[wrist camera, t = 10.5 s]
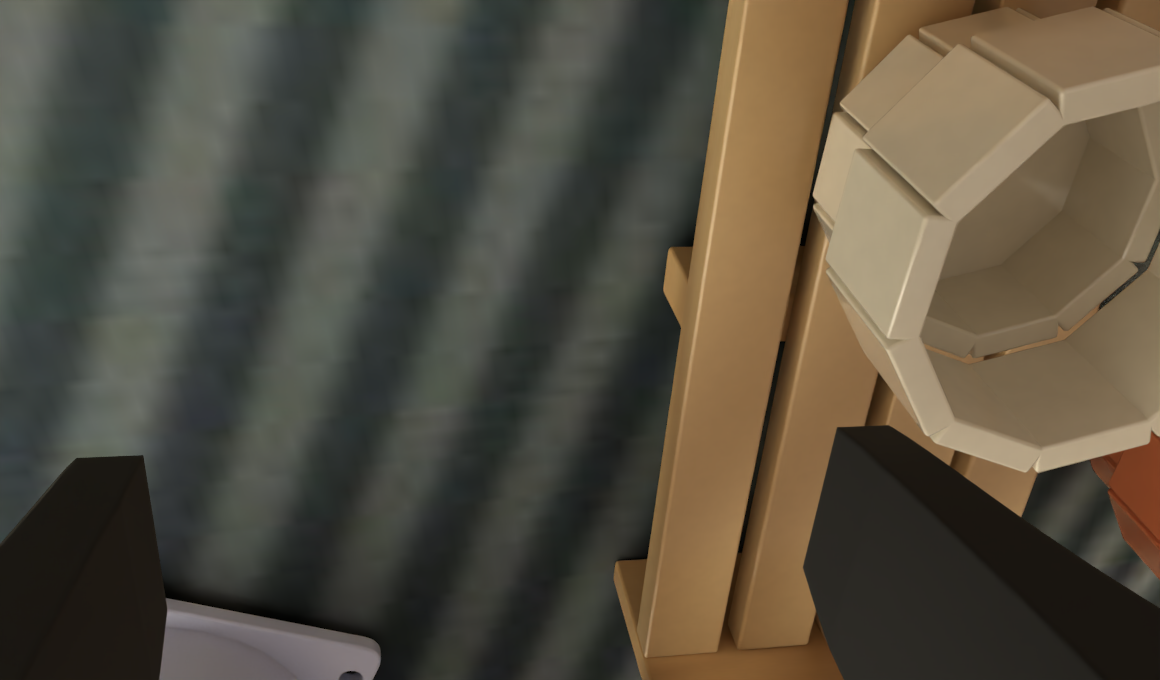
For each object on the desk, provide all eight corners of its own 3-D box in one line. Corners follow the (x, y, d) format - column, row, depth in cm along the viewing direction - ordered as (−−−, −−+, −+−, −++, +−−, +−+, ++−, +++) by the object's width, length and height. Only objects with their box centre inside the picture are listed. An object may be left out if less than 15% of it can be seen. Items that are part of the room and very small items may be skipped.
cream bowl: (985, 348, 20) (1133, 509, 16) (708, 244, 18) (805, 402, 14) (1192, 60, 17) (1422, 171, 14) (902, -98, 15) (1080, -19, 12)
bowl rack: (612, 579, 25) (676, 805, 20) (711, -208, 17) (861, -153, 12) (915, 558, 27) (1045, 766, 22) (1145, -176, 18) (1443, -114, 13)
